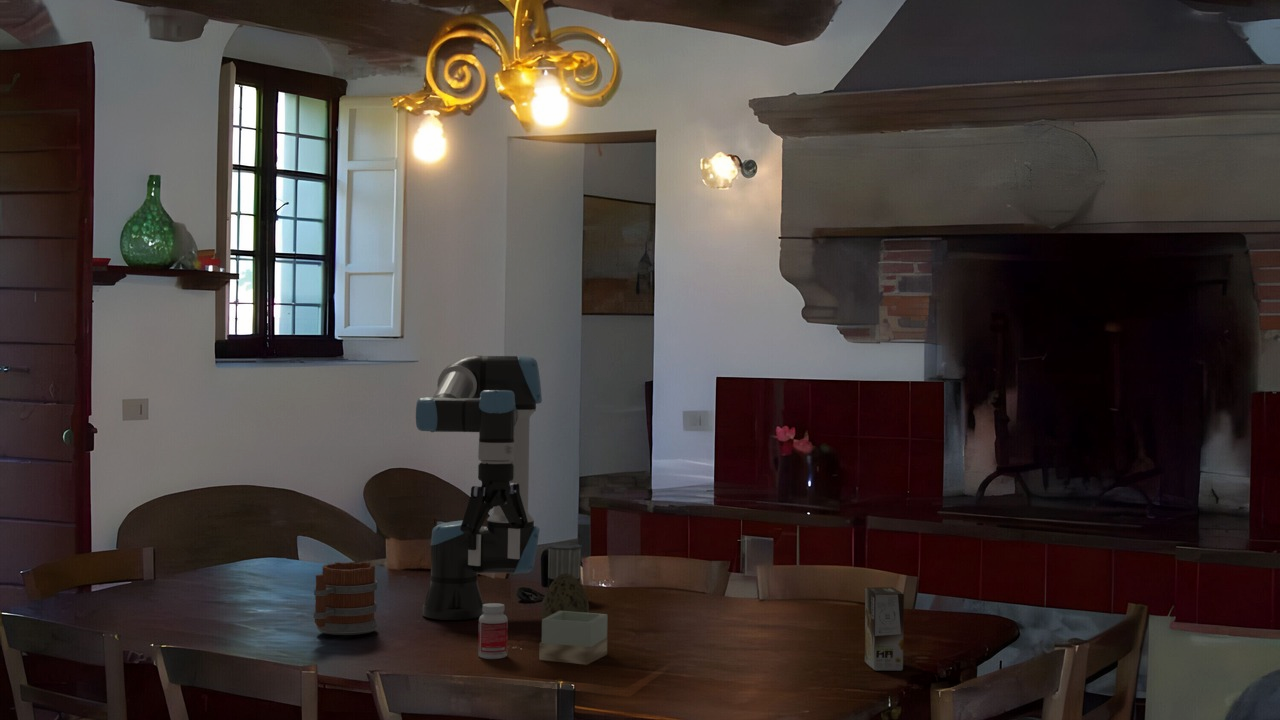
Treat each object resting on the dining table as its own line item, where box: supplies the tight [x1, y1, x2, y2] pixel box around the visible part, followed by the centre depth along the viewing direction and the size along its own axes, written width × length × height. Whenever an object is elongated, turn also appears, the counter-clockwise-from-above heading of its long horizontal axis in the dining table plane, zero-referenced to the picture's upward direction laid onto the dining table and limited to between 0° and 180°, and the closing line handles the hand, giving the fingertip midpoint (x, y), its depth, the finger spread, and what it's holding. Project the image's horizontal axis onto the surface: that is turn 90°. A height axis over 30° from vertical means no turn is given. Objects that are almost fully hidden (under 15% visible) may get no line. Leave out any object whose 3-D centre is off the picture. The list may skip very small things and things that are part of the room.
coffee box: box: [864, 586, 905, 672], centre depth 282 cm, size 9×6×16 cm
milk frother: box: [516, 542, 583, 604], centre depth 354 cm, size 14×16×15 cm
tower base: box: [538, 637, 608, 666], centre depth 286 cm, size 11×11×4 cm
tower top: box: [541, 611, 608, 647], centre depth 286 cm, size 11×11×5 cm
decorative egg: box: [541, 574, 590, 620], centre depth 304 cm, size 11×11×15 cm
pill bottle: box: [477, 602, 509, 660], centre depth 285 cm, size 6×6×11 cm
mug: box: [313, 561, 379, 636], centre depth 310 cm, size 14×19×15 cm
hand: (494, 562), depth 285 cm, fingers open, 13 cm apart
